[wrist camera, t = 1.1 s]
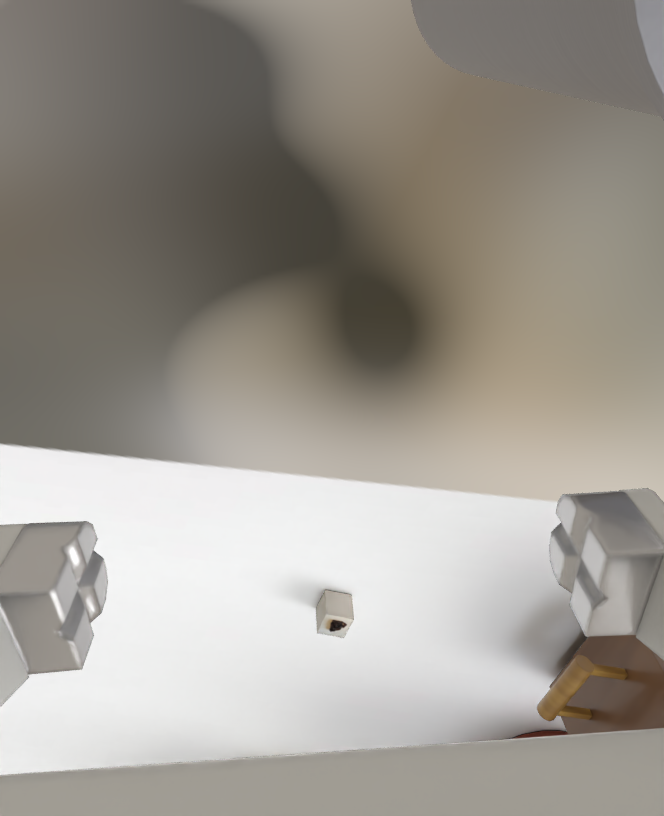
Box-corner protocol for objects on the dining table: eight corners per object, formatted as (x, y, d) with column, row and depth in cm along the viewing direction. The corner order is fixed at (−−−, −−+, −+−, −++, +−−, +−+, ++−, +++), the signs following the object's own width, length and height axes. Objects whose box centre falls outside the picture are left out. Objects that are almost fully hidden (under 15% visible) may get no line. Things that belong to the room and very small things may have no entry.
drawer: (504, 679, 50) (540, 792, 43) (571, 587, 45) (626, 697, 37) (683, 706, 54) (745, 815, 46) (765, 624, 48) (851, 732, 41)
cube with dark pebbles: (324, 589, 45) (326, 616, 43) (351, 594, 45) (354, 621, 43) (315, 608, 46) (317, 636, 44) (342, 613, 46) (344, 641, 44)
